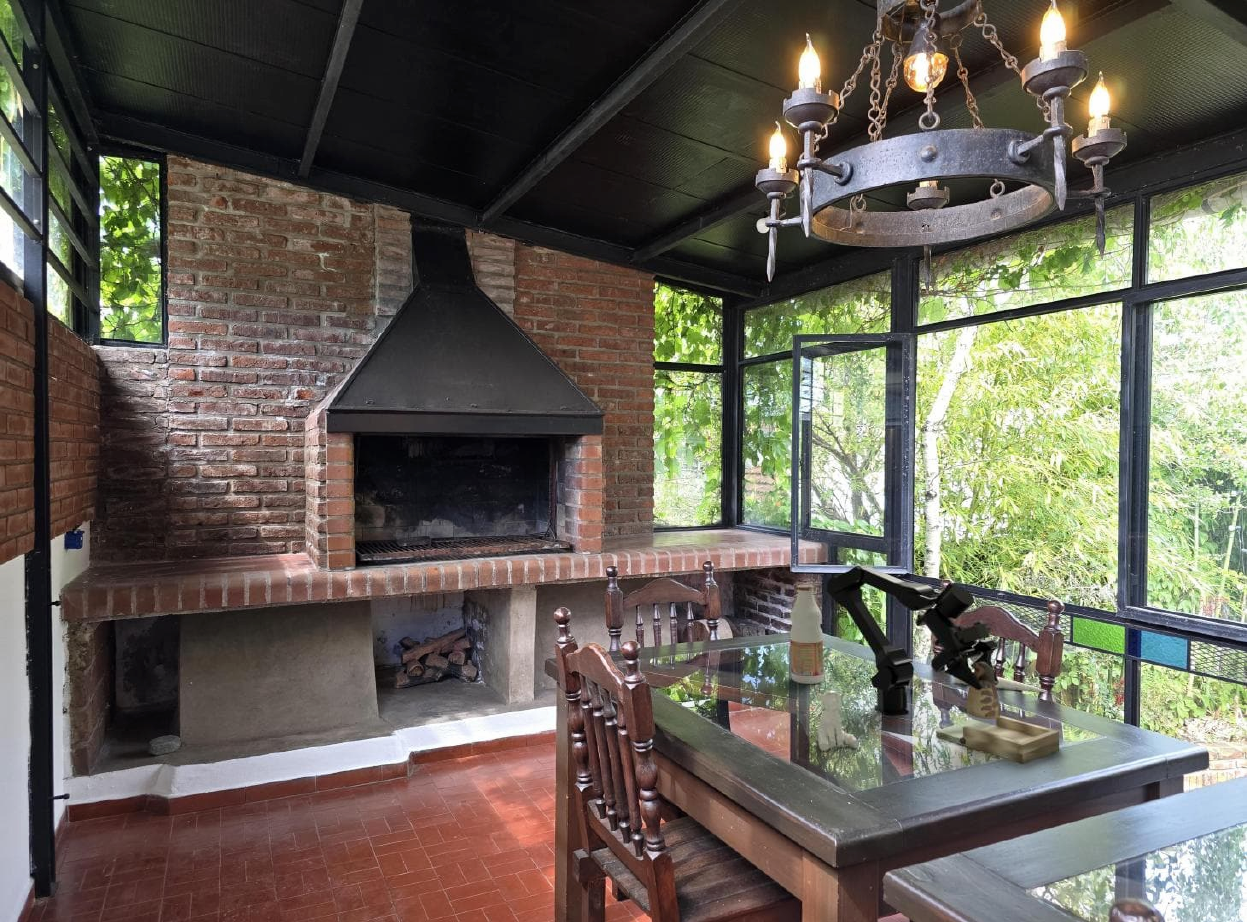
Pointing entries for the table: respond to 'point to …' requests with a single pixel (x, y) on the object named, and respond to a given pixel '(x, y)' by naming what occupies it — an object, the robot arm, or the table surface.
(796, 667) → the fruit juice
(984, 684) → the figurine
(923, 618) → the robot arm
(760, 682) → the table surface
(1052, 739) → the shallow wooden tray
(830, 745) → the beige lumpy upright piece
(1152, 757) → the table surface
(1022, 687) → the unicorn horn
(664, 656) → the table surface
